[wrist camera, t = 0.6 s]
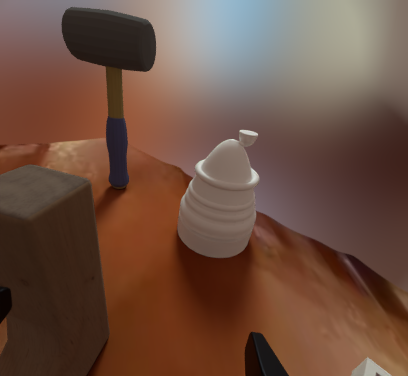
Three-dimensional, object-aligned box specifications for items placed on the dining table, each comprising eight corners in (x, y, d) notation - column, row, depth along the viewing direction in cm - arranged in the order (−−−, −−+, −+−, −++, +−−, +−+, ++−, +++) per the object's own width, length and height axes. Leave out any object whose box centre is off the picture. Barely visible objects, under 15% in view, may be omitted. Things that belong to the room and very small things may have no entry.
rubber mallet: (153, 184, 49) (159, 23, 34) (140, 201, 42) (141, 10, 28) (101, 173, 49) (86, 10, 35) (80, 188, 43) (51, -5, 28)
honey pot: (239, 211, 45) (264, 125, 36) (257, 260, 33) (299, 152, 25) (178, 206, 43) (188, 114, 34) (176, 256, 32) (190, 138, 23)
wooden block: (28, 479, 14) (-163, 332, 5) (-29, 452, 14) (-291, 276, 6) (111, 334, 22) (93, 177, 13) (72, 320, 22) (29, 161, 13)
